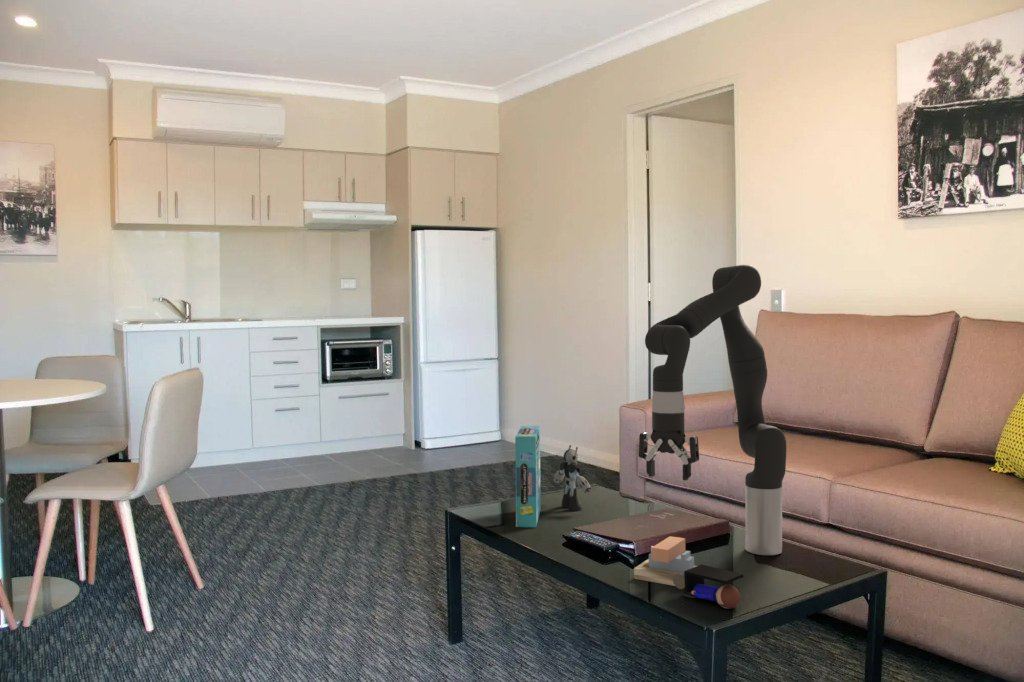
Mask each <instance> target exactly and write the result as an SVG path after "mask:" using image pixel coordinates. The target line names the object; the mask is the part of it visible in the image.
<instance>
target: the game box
mask: <svg viewBox="0 0 1024 682" xmlns="http://www.w3.org/2000/svg"><path fill="white" fill-rule="evenodd" d="M540 427H541V426H539V425H522V426H520V428H519V430H518V432H517V434H515V435H516V436H515V439H514V440H515V445H514V446H515V447H514V448H515V527H516V528H537V525H538V522H539V518H540V513H541V511H542V509H541V508H542V504H541V503H542V501H541V500H542V499H541V498H542V495H541V494H542V493H541V489H542V488H541V487H542V486H541V485H542V483H541V428H540Z"/></svg>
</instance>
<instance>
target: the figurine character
mask: <svg viewBox="0 0 1024 682" xmlns="http://www.w3.org/2000/svg"><path fill="white" fill-rule="evenodd" d="M696 566H697V567H694V568H691V569H688V570H686V571H684V573H682V572H680V573H677V574H675V575H674V576H673V583H674V585H675V586H674V587H676V588H677V589H679V590H683V589H684V593H685V594H684V595H683V596H684V597H685V598H690V599H695V598H697V599H702V600H707V601H713V602H716V603H717V604H718V605H719V606H720V607H721V608H723V609H726V610H727V609H728V610H730V609H735V608H736V607H737V606H738V605H739V603H740V600H741V595H740V591H739V590H738V589H737V588H736V587H735V586H734V585H732V584H730V583H731V582H735V581H737V580H739V579H742V578H744V573H739V572H736V571H730V570H726V569H722V568H719V567H718V568H717V567H713V566H709V565H706V564H699V565H696ZM705 580H707V581H713V582H717V583H720V584H724V585H721V586H715V585H710V584H705ZM689 593H691V595H690V594H689Z"/></svg>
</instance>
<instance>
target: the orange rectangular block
mask: <svg viewBox="0 0 1024 682" xmlns="http://www.w3.org/2000/svg"><path fill="white" fill-rule="evenodd" d="M653 546H654V547H652V560H653V561H660V562H666V563H669V562H670V561H672V560H673V559H674V558H676V557H677V556H679V555H681V554H682V553H684V552H685V551H686V538H684V537H679V536H670V535H669V536H668V537H666V538H665V539H663V540H661V541H660V542H658V543H657V544H655V545H653Z"/></svg>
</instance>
